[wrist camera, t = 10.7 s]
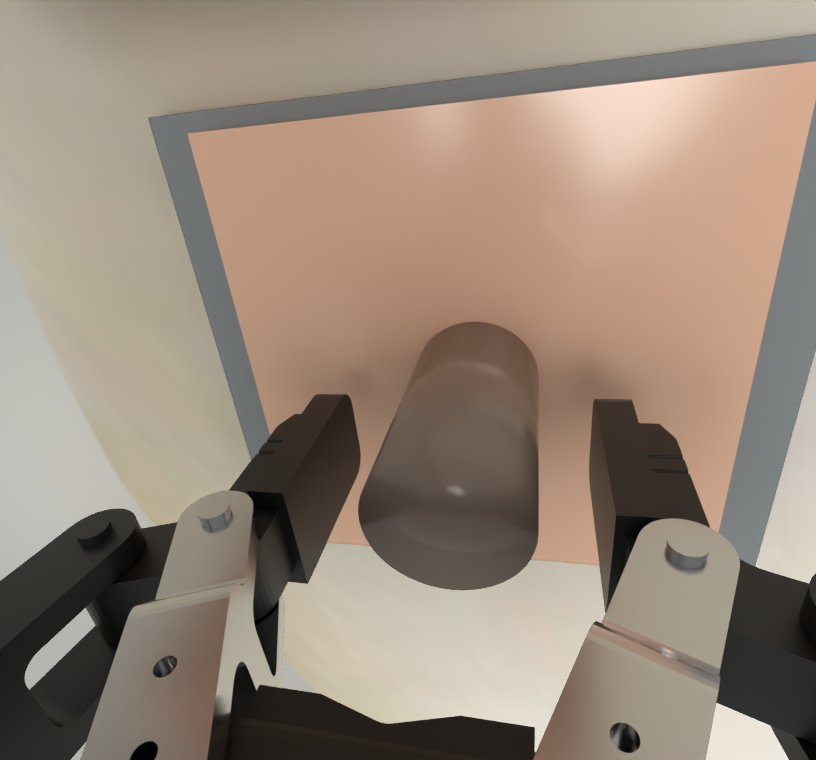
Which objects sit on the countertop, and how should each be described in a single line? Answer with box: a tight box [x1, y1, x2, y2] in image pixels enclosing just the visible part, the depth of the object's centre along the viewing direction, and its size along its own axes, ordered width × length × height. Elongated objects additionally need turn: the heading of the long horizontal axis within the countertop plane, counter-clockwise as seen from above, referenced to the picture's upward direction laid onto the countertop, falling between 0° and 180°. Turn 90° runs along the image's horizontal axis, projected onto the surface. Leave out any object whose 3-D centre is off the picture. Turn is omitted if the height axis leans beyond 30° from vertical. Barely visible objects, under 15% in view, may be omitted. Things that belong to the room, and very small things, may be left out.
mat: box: [148, 34, 816, 566], centre depth 15 cm, size 16×14×1 cm
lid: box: [188, 61, 816, 590], centre depth 12 cm, size 13×13×6 cm
